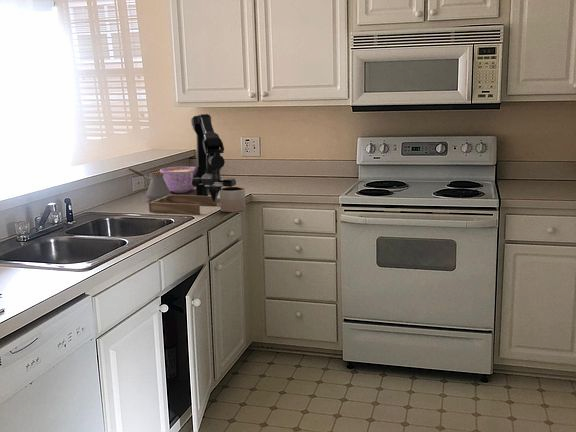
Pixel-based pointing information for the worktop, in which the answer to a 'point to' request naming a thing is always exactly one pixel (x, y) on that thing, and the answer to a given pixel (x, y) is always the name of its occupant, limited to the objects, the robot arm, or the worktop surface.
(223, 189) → the planter
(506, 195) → the worktop surface
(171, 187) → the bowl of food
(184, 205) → the wooden tray
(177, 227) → the worktop surface
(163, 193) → the coffee pot
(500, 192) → the worktop surface
